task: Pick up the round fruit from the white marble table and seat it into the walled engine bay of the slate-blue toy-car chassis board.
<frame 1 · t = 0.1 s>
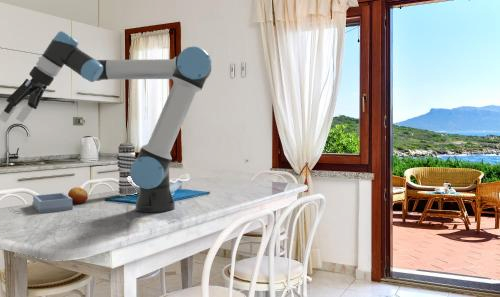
hand: (10, 120, 156), 36 cm above the table, tool tilted 35°, fingers open, 13 cm apart
fruit: (78, 203, 193), on the table
chassis: (52, 207, 184), on the table
decorative candle: (128, 195, 214), on the table
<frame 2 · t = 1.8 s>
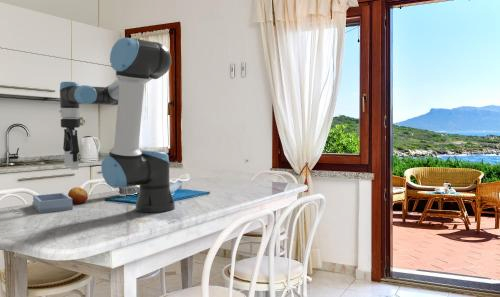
hand: (71, 167, 190), 16 cm above the table, tool pointing down, fingers open, 13 cm apart
nothing on the table moved.
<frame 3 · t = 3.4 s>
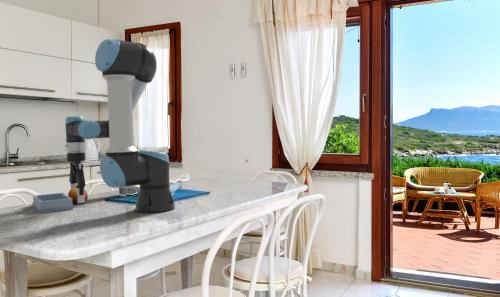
hand: (77, 200, 193), 1 cm above the table, tool pointing down, fingers open, 13 cm apart
nothing on the table moved.
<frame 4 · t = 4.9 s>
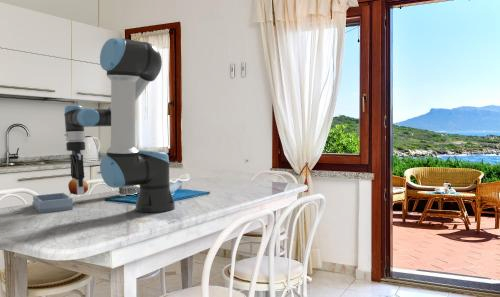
hand: (78, 193, 192), 4 cm above the table, tool pointing down, fingers closed on fruit, 8 cm apart
fruit: (78, 194, 192), point 4 cm above the table, touching gripper
everything else where it was.
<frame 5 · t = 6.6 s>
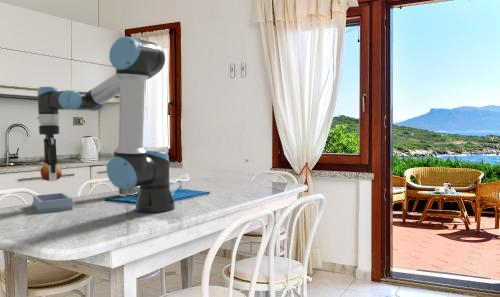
hand: (51, 179, 182), 12 cm above the table, tool pointing down, fingers closed on fruit, 8 cm apart
fruit: (51, 181, 182), point 11 cm above the table, touching gripper
everything else where it was.
when the fingers open (3 cm above the table, at t = 8.4 s): fruit drops 1 cm, resting on chassis.
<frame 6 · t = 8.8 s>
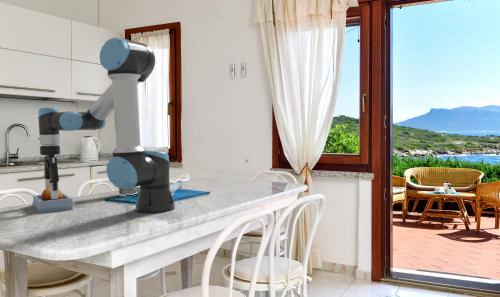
hand: (52, 196, 183), 5 cm above the table, tool pointing down, fingers open, 13 cm apart
fruit: (52, 204, 183), point 1 cm above the table, touching chassis
everything else where it was.
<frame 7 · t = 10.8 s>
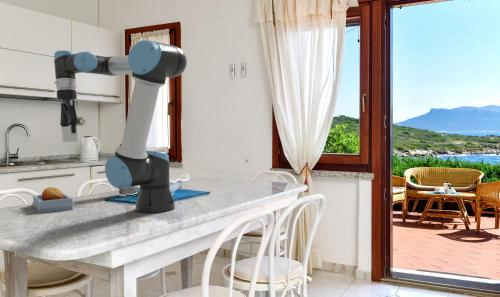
hand: (69, 141, 180), 27 cm above the table, tool pointing down, fingers open, 13 cm apart
nothing on the table moved.
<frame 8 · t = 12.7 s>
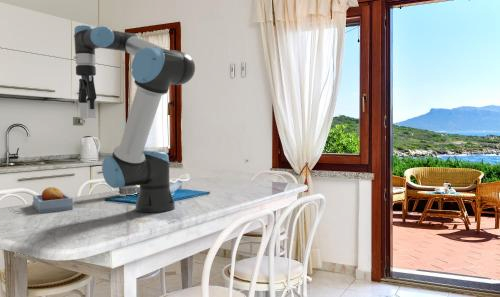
hand: (87, 118, 179), 37 cm above the table, tool pointing down, fingers open, 13 cm apart
nothing on the table moved.
at the end: fruit inside the target area on the chassis (0.1 cm from its centre), point 1.3 cm above the chassis's base; the gripper is holding nothing; fruit touching chassis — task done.
